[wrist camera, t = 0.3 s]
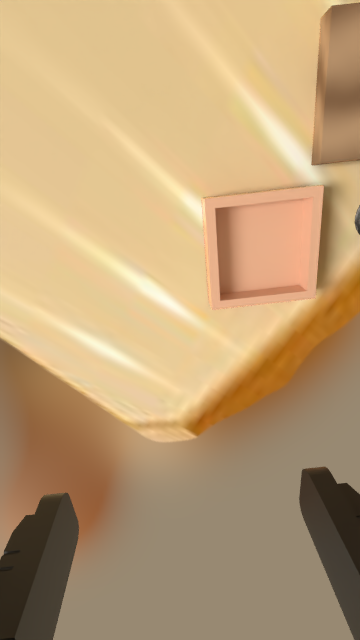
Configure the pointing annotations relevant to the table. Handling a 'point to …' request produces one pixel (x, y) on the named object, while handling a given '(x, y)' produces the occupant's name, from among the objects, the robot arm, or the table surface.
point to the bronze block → (338, 87)
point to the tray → (262, 246)
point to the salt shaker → (357, 220)
